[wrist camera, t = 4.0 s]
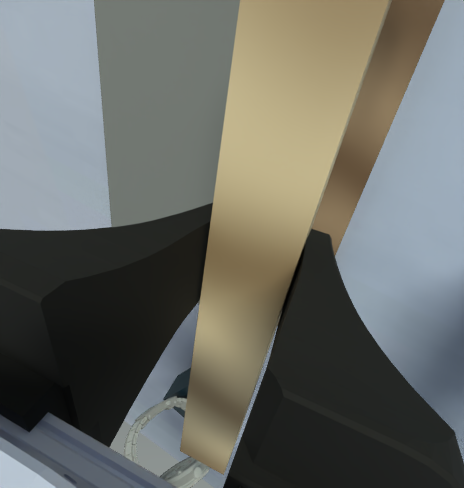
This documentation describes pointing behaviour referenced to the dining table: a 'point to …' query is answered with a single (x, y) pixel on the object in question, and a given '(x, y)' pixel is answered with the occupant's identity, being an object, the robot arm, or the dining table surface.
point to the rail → (269, 192)
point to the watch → (176, 398)
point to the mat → (163, 101)
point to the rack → (375, 110)
